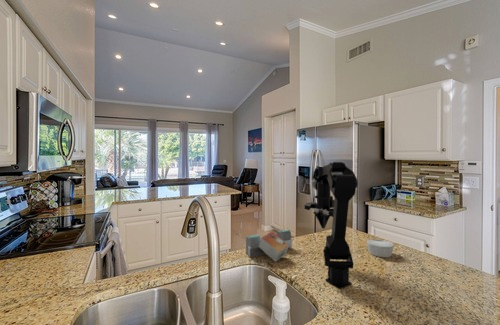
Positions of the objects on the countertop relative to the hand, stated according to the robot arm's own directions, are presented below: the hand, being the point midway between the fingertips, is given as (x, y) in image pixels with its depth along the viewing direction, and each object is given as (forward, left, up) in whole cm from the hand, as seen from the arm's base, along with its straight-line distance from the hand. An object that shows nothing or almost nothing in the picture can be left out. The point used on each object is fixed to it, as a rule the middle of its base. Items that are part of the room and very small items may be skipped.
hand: (323, 228), depth 106 cm
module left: (+19, +25, -13) cm, 34 cm away
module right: (+19, +8, -13) cm, 24 cm away
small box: (+6, +18, -11) cm, 21 cm away
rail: (+17, +17, -13) cm, 27 cm away
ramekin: (-9, -27, -14) cm, 32 cm away
